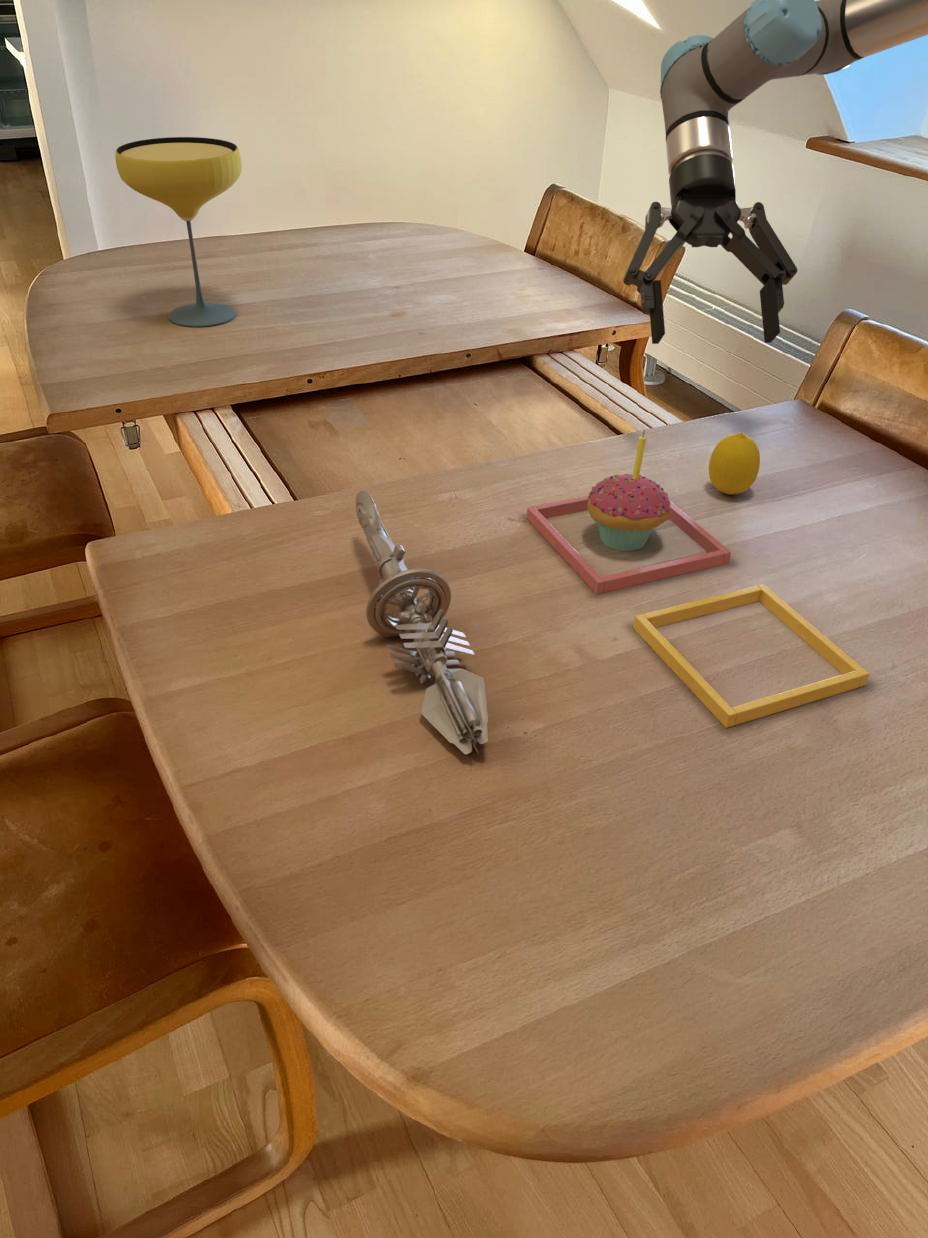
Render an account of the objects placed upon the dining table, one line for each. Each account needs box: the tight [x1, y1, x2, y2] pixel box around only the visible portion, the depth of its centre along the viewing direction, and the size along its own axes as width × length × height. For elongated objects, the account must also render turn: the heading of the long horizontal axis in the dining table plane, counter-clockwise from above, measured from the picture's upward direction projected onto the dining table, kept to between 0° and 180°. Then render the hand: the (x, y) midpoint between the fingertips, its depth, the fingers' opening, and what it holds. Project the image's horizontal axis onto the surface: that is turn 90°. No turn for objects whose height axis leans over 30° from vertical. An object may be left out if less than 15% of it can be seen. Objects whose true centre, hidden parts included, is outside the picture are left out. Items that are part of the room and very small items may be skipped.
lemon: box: [708, 431, 761, 496], centre depth 107 cm, size 6×6×8 cm
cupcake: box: [587, 428, 671, 552], centre depth 96 cm, size 9×8×12 cm
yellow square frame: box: [632, 583, 870, 728], centre depth 84 cm, size 15×15×2 cm
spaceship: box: [355, 490, 489, 755], centre depth 84 cm, size 8×35×8 cm
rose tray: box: [526, 495, 732, 595], centre depth 99 cm, size 16×16×2 cm
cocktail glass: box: [114, 136, 243, 328], centre depth 146 cm, size 18×18×25 cm
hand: (715, 338), depth 109 cm, fingers open, 13 cm apart
